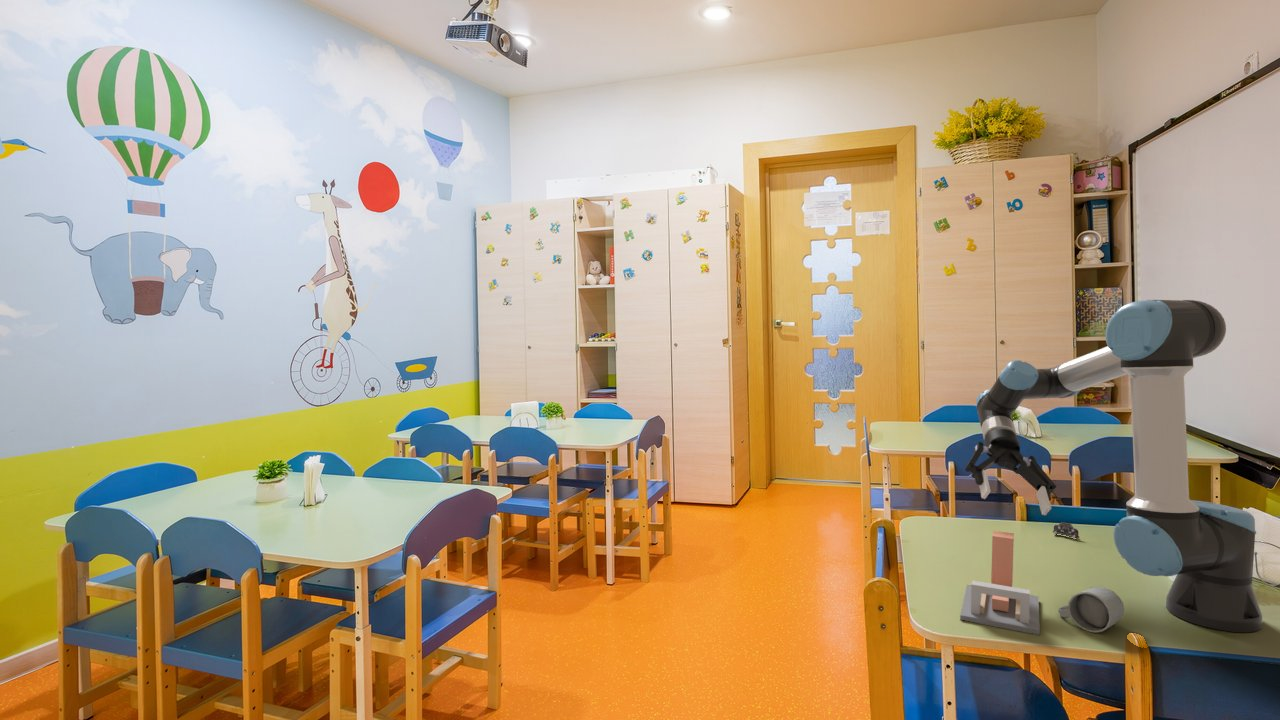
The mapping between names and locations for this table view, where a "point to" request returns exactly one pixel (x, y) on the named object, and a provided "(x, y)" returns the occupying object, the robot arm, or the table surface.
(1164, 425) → the robot arm
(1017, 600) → the mount
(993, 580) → the clip bar
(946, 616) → the table surface
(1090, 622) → the ceramic mug
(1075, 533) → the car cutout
